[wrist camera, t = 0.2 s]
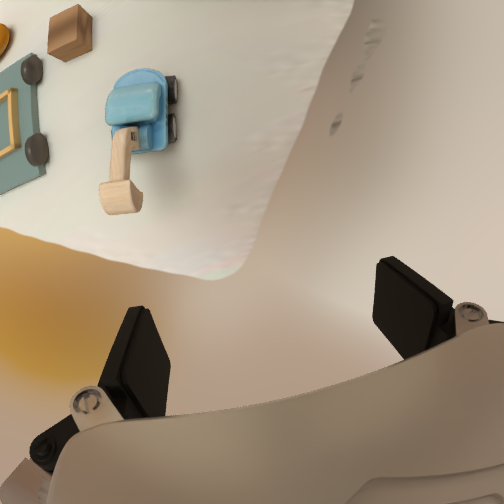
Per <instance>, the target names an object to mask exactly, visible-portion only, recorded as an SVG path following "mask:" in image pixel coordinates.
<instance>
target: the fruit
mask: <svg viewBox="0 0 504 504" xmlns="http://www.w3.org/2000/svg"><path fill="white" fill-rule="evenodd" d="M8 41H9V30H8V28H7V27H6V26H5V25H4V24H0V56H1V55H2V53H3V52H4V50H5V48H6V47H7V44H8Z"/></svg>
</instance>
